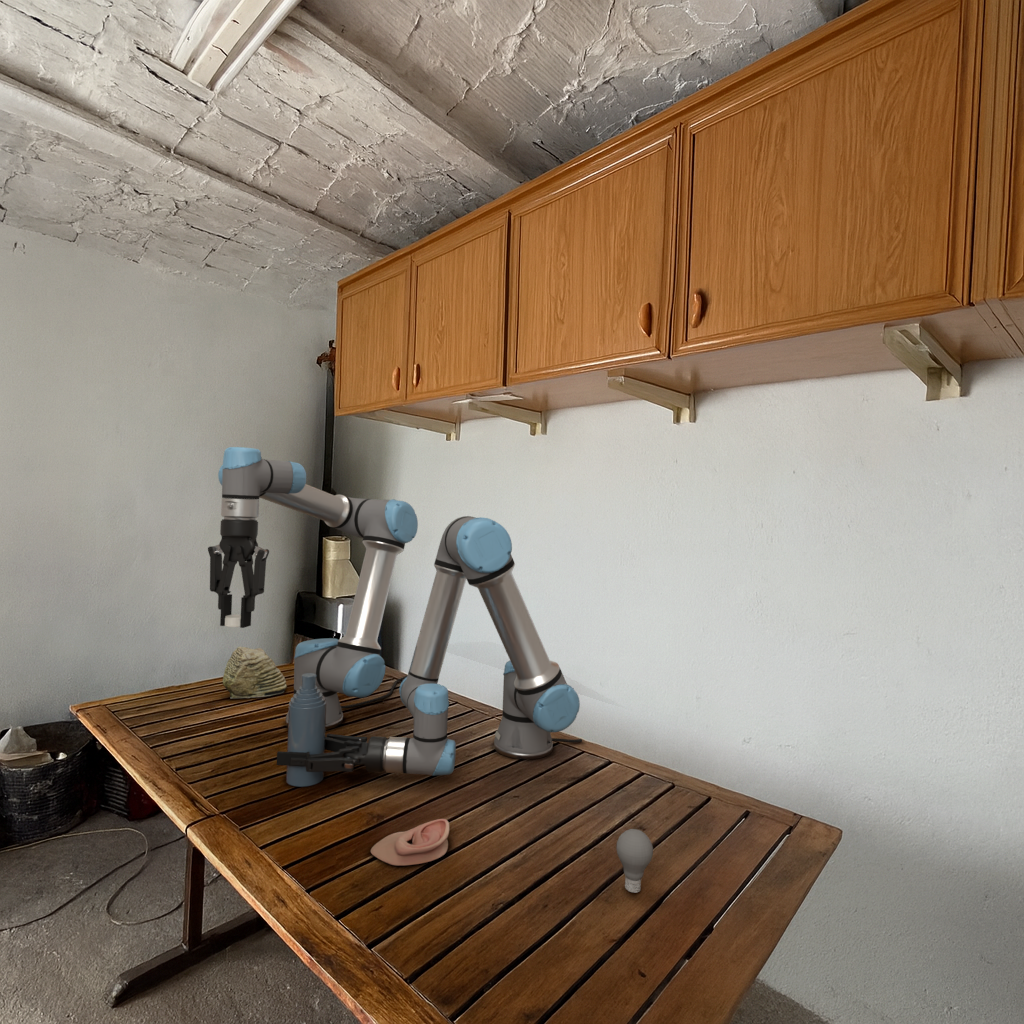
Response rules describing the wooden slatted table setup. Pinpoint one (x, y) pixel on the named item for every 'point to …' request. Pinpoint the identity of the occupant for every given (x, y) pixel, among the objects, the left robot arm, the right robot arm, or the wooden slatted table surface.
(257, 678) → the fossil
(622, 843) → the light bulb
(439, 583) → the right robot arm
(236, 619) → the cap
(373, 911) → the wooden slatted table surface
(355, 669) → the left robot arm
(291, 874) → the wooden slatted table surface
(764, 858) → the wooden slatted table surface
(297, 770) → the bottle
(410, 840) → the anatomical model
